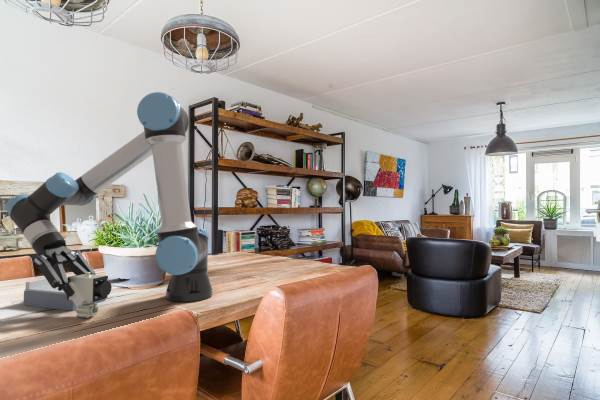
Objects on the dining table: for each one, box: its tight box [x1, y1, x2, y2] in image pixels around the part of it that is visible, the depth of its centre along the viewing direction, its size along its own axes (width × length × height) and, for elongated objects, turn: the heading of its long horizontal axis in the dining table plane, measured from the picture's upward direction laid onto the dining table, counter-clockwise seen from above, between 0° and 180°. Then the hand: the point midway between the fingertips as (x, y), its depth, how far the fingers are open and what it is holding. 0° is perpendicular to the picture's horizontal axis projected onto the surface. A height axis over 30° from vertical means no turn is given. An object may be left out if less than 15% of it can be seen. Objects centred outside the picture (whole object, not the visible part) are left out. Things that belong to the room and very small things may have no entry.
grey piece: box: [23, 277, 107, 312], centre depth 114 cm, size 22×12×7 cm, turn 75°
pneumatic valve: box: [67, 272, 112, 319], centre depth 100 cm, size 6×12×12 cm, turn 77°
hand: (90, 300), depth 100 cm, fingers closed on pneumatic valve, 5 cm apart
